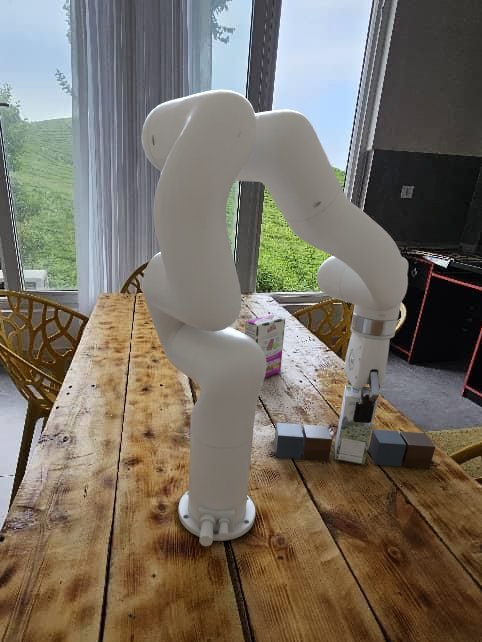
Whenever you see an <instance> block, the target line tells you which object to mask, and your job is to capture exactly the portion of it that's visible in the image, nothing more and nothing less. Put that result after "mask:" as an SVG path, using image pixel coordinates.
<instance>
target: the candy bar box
mask: <svg viewBox="0 0 482 642" xmlns="http://www.w3.org/2000/svg"><path fill="white" fill-rule="evenodd" d="M285 327H286V318H285V317H282V316H279V315H276V314H270V315H267V316H262V317H258V318H253V319H250V320H246V321H245V328H244V334H246V335H247V336H249V337H250V338H252V339H253V340H254V341H255V342H256V343H257V344H258V345H259V346H260V347H261V349H262V350H263V352H264V354H265V357H266V363H267V368H266V374H265V378H264V379H266V378H268V377H272V376H274V375H276V374H279V373H281V370H282V369H281V368H282V360H283V359H282V358H283V348H284V337H285Z"/></svg>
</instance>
